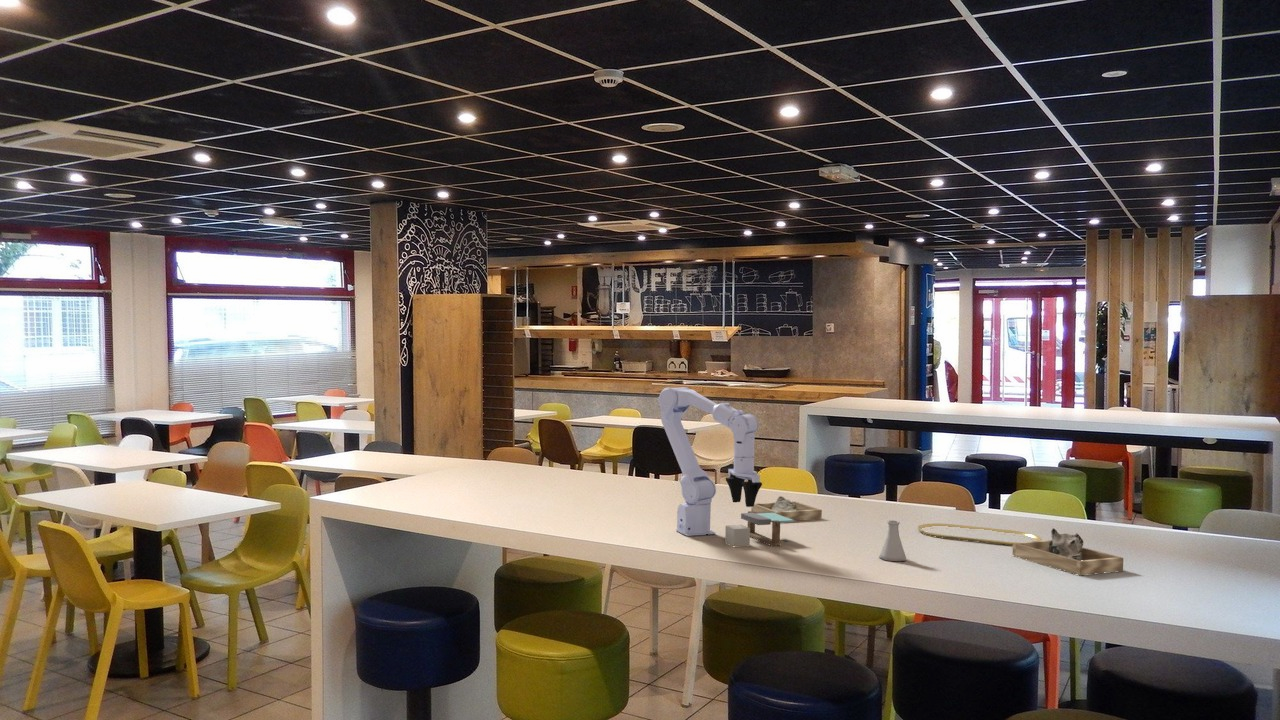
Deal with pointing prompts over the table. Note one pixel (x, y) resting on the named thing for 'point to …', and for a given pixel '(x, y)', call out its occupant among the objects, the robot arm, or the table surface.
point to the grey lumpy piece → (1066, 545)
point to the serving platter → (976, 538)
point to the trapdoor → (764, 518)
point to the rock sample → (784, 505)
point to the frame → (773, 541)
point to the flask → (893, 544)
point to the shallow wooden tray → (1089, 565)
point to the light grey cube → (737, 535)
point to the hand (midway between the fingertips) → (743, 504)
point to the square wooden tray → (801, 514)
